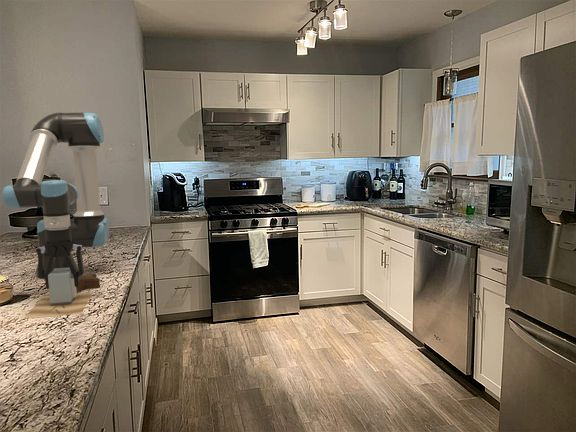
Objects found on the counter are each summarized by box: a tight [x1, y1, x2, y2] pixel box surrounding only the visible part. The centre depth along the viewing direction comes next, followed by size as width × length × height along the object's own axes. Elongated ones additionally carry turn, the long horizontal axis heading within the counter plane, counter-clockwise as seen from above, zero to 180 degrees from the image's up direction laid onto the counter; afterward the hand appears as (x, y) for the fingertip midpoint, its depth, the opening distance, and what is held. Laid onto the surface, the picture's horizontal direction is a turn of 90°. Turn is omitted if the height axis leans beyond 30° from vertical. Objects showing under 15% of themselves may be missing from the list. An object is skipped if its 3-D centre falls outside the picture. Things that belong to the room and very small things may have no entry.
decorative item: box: [76, 273, 101, 293], centre depth 167 cm, size 16×6×15 cm
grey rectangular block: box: [48, 268, 75, 306], centre depth 150 cm, size 9×6×10 cm, turn 14°
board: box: [23, 291, 94, 320], centre depth 147 cm, size 22×16×1 cm
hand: (63, 296), depth 151 cm, fingers closed on grey rectangular block, 6 cm apart
